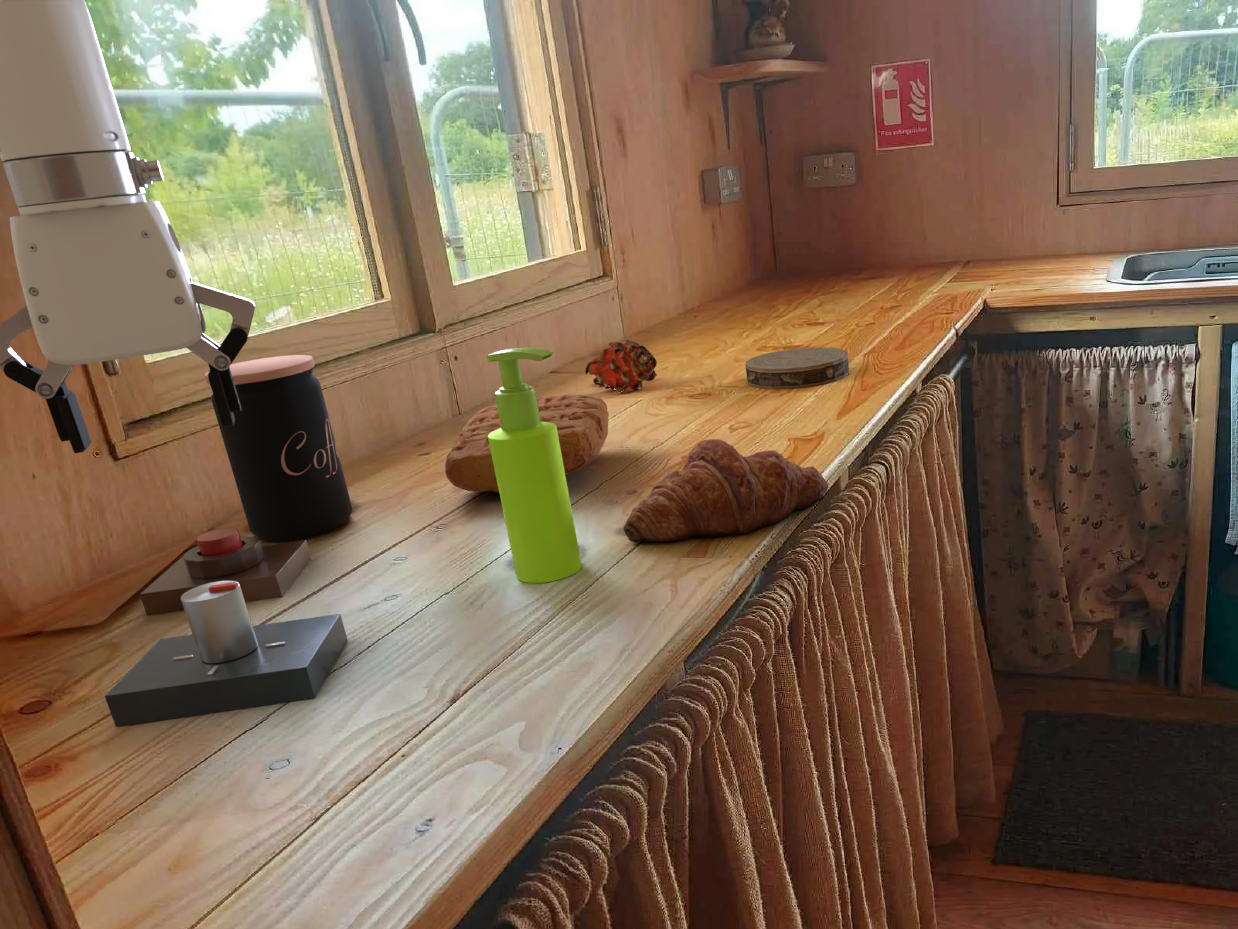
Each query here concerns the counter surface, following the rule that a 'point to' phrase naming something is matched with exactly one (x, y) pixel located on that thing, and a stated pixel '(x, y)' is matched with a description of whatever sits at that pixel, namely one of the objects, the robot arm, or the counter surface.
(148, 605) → the block
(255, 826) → the counter surface
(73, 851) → the counter surface
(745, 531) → the pastry
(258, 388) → the coffee jar
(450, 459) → the bread loaf
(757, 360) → the tin can
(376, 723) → the counter surface
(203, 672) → the panel
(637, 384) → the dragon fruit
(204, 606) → the tap knob
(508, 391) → the soap dispenser
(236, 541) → the button
